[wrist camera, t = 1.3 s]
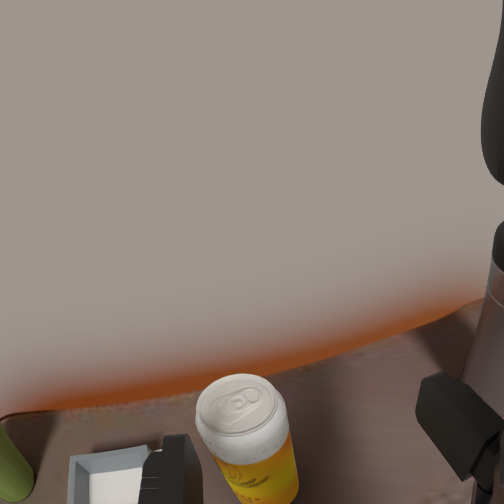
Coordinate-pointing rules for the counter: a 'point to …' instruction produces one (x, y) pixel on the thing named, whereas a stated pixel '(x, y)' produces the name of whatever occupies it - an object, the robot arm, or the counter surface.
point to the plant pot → (13, 471)
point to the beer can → (249, 438)
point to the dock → (107, 476)
